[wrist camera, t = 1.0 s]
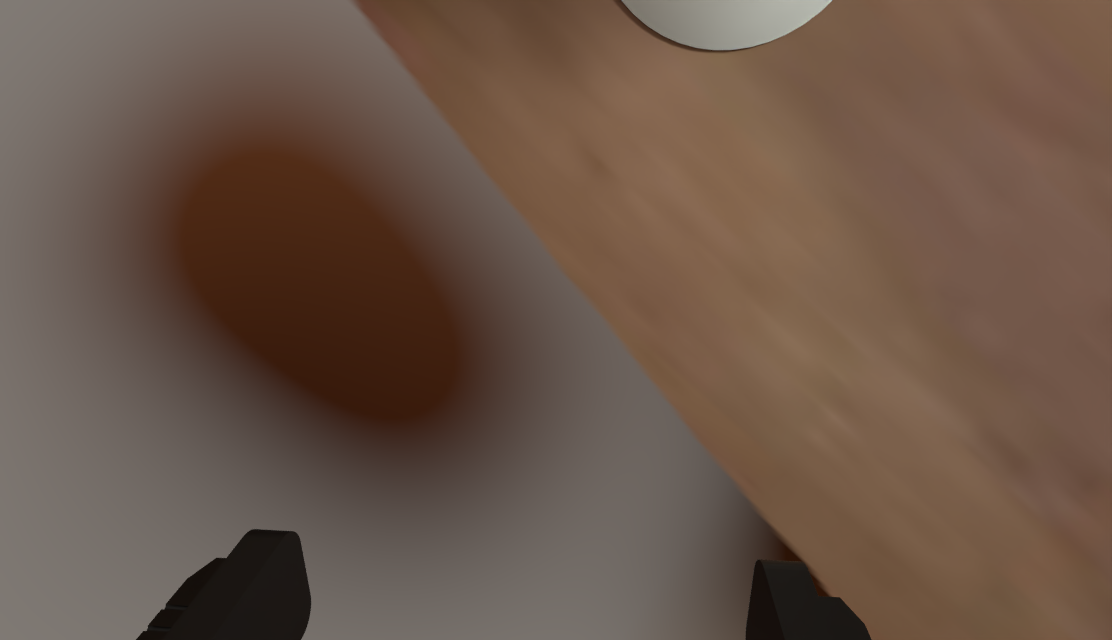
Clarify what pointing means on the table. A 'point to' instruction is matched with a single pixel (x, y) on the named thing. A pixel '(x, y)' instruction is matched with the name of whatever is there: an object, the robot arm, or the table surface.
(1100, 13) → the table surface
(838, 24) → the table surface
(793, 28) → the disc
